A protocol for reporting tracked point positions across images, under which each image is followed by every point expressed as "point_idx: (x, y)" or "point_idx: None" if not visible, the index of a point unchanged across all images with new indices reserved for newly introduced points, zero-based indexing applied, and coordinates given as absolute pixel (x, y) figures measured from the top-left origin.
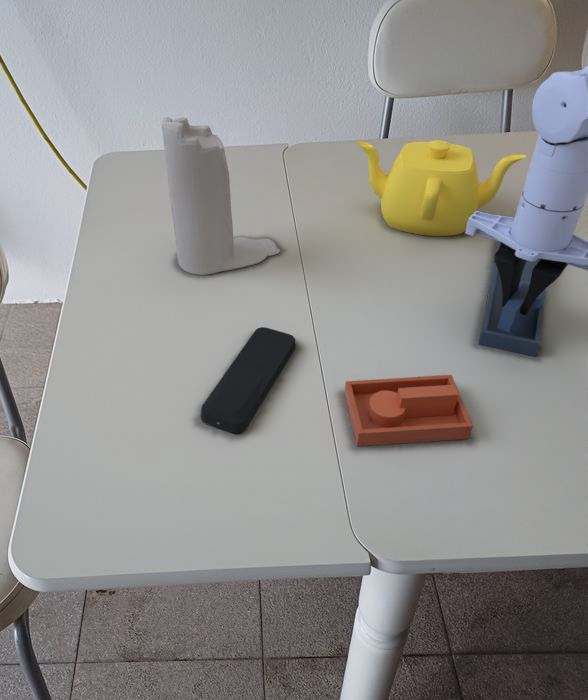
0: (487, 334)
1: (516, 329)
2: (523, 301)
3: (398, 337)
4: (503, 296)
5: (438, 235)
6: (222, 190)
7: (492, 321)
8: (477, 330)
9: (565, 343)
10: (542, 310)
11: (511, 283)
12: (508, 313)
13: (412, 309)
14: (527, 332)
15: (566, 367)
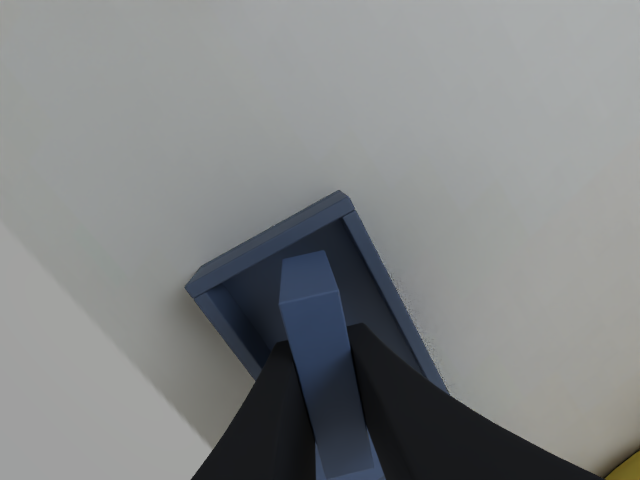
0: (330, 204)
1: None
2: (301, 380)
3: (537, 20)
4: (379, 344)
5: (635, 455)
6: None
7: (365, 293)
8: (375, 239)
9: (187, 366)
10: None
11: (386, 416)
12: (307, 285)
13: (563, 175)
14: (272, 326)
15: (120, 293)
